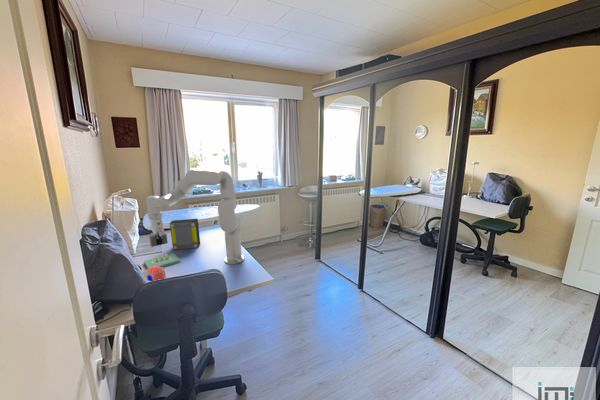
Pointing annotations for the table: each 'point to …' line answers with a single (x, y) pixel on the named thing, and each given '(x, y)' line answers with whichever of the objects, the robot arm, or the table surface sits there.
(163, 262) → the header board
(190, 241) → the electrical component
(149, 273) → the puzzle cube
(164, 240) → the block
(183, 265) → the table surface
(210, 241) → the table surface
